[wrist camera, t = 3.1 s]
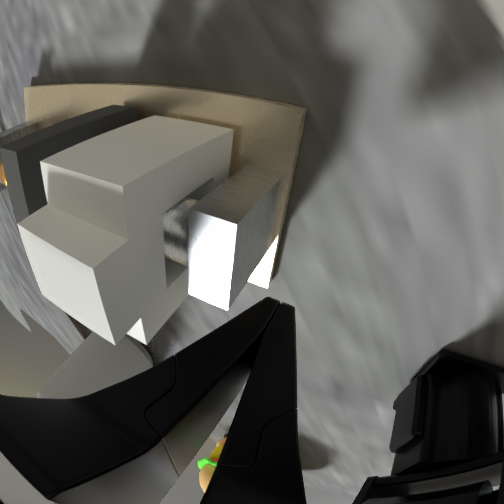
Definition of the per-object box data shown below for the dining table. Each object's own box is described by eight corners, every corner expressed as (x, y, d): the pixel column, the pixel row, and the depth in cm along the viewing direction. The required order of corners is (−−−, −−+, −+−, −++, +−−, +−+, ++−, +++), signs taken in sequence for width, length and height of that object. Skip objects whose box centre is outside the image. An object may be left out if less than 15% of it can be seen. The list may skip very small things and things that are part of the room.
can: (114, 310, 26) (27, 404, 17) (171, 368, 27) (99, 467, 18) (94, 329, 31) (26, 404, 22) (142, 376, 32) (82, 454, 23)
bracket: (233, 129, 12) (80, 212, 6) (221, 256, 16) (125, 371, 10) (154, 115, 13) (5, 179, 7) (156, 231, 17) (54, 321, 11)
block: (135, 106, 13) (16, 151, 8) (140, 230, 17) (57, 299, 12) (112, 104, 13) (-1, 147, 8) (120, 221, 17) (38, 285, 13)
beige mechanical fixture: (307, 108, 11) (255, 134, 7) (271, 281, 17) (227, 355, 13) (30, 85, 16) (-30, 107, 12) (42, 191, 21) (-6, 221, 17)
